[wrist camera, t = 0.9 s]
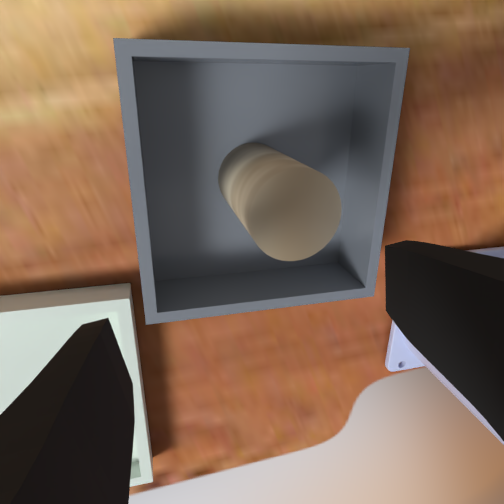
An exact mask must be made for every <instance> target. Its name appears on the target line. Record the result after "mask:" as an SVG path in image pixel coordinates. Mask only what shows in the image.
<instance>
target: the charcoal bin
mask: <svg viewBox="0 0 504 504" xmlns="http://www.w3.org/2000/svg"><path fill="white" fill-rule="evenodd" d="M113 41H114V50H115V58H116V67H117V76H118V85H119V93H120V102H121V111H122V120H123V128H124V137H125V146H126V155H127V163H128V172H129V181H130V190H131V198H132V207H133V216H134V225H135V233H136V242H137V251H138V260H139V268H140V277H141V286H142V295H143V303H144V312H145V321H146V325H148V324H156V323H164V322H172V321H180V320H188V319H196V318H204V317H212V316H220V315H228V314H236V313H244V312H251V311H259V310H267V309H275V308H283V307H291V306H299V305H307V304H315V303H323V302H331V301H339V300H347V299H355V298H363V297H371V296H374V291H375V285H376V278H377V271H378V264H379V257H380V250H381V243H382V236H383V229H384V223H385V216H386V209H387V202H388V195H389V188H390V181H391V174H392V168H393V161H394V154H395V147H396V140H397V133H398V126H399V119H400V112H401V106H402V99H403V92H404V85H405V78H406V71H407V64H408V57H409V51H410V48H393V47H363V46H333V45H303V44H273V43H243V42H213V41H183V40H153V39H123V38H113ZM246 143H261V144H264V145H267V146H269V147H271V148H273V149H275V150H277V151H279V152H281V153H283V154H285V155H287V156H289V157H291V158H293V159H295V160H297V161H299V162H300V163H302V164H304V165H306V166H308V167H310V168H312V169H314V170H316V171H318V172H320V173H322V174H324V175H325V176H327V177H328V178H329V179H330V180H331V181H332V182H333V184H334V185H335V187H336V188H337V190H338V193H339V195H340V199H341V207H342V208H341V218H340V222H339V226H338V228H337V230H336V232H335V234H334V236H333V237H332V239H331V240H330V241H329V243H328V244H327V245H326V246H325V247H324V248H323V249H321V250H320V251H319V252H317V253H316V254H314V255H312V256H310V257H308V258H305V259H302V260H297V261H282V260H278V259H275V258H272V257H271V256H269V255H267V254H266V253H264V252H263V251H262V250H261V249H260V248H259V247H258V245H257V244H256V243H255V241H254V240H253V238H252V237H251V235H250V234H249V233H248V231H247V230H246V228H245V227H244V225H243V224H242V223H241V221H240V220H239V218H238V217H237V215H236V214H235V213H234V211H233V210H232V208H231V207H230V205H229V204H228V203H227V201H226V200H225V198H224V197H223V195H222V193H221V191H220V188H219V183H218V174H219V169H220V166H221V164H222V162H223V160H224V158H225V157H226V156H227V155H228V153H229V152H231V151H232V150H233V149H234V148H236V147H238V146H240V145H242V144H246Z"/></svg>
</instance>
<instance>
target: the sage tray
mask: <svg viewBox="0 0 504 504" xmlns="http://www.w3.org/2000/svg"><path fill="white" fill-rule="evenodd" d="M105 318H109V321H110V323H111V326H112V329H113V331H114V334H115V337H116V339H117V342H118V345H119V348H120V350H121V353H122V356H123V358H124V361H125V364H126V366H127V369H128V372H129V375H130V377H131V380H132V383H133V395H134V415H135V426H134V440H133V453H132V464H131V476H130V487H131V486H136V485H140V484H145V483H150V482H153V458H152V450H151V442H150V434H149V426H148V418H147V410H146V402H145V394H144V386H143V378H142V370H141V362H140V355H139V347H138V339H137V331H136V323H135V315H134V307H133V299H132V291H131V283H122V284H112V285H102V286H93V287H83V288H73V289H63V290H53V291H43V292H33V293H23V294H14V295H4V296H0V415H1V414H2V412H3V411H4V410H5V409H6V408H7V407H8V406H9V405H10V404H11V403H12V402H13V401H14V400H15V399H16V398H17V397H18V396H19V395H20V393H21V392H22V391H23V390H24V389H25V388H26V387H27V386H28V385H29V384H30V383H31V382H32V381H33V380H34V378H35V377H36V376H37V375H38V374H39V373H40V372H41V370H42V369H43V368H44V367H45V366H46V365H47V363H48V362H49V361H50V360H51V359H52V358H53V357H54V355H55V354H56V353H57V352H58V351H59V350H60V348H61V347H62V346H63V345H64V344H65V343H66V341H67V340H68V339H69V338H70V337H71V336H72V334H73V333H74V332H75V331H76V330H77V329H78V328H79V327H80V326H81V325H82V324H86V323H90V322H93V321H97V320H101V319H105Z"/></svg>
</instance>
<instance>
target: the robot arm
mask: <svg viewBox="0 0 504 504" xmlns="http://www.w3.org/2000/svg"><path fill="white" fill-rule="evenodd" d="M385 275H386V311H387V313H388V314H389V316H390V317H391V318H392V326H391V332H390V338H389V343H388V349H387V355H386V361H385V366H386V368H387V369H388V370H389V371H399V370H405V369H410V368H416V367H422V366H426V367H427V368H428V369H429V370H430V371H431V372H432V373H433V374H434V375H435V376H436V377H437V378H438V379H439V380H440V381H441V382H442V383H443V384H444V385H445V386H446V387H447V388H448V389H449V390H450V391H451V392H452V393H453V394H454V395H455V396H456V397H457V398H458V399H459V400H460V401H461V402H462V403H463V404H464V405H465V406H466V407H467V408H468V409H469V410H470V411H471V412H472V413H473V414H474V415H475V416H476V417H477V418H478V419H479V420H480V421H481V422H482V423H483V424H484V425H485V426H486V427H487V428H488V429H489V430H490V431H491V432H492V433H493V434H494V436H495V437H497V439H498V440H499V441H500V442H501V443H503V444H504V247H495V248H486V249H476V250H466V251H465V250H460V249H455V248H451V247H446V246H441V245H436V244H430V243H424V242H418V241H407V240H406V241H402V242H398V243H394V244H390V245H386V246H385ZM134 426H135V415H134V395H133V383H132V380H131V377H130V375H129V372H128V369H127V366H126V364H125V361H124V358H123V356H122V353H121V350H120V348H119V345H118V342H117V339H116V337H115V334H114V331H113V329H112V326H111V323H110V321H109V318H105V319H101V320H97V321H93V322H90V323H86V324H82V325H81V326H80V327H79V328H78V329H77V330H76V331H75V332H74V333H73V334H72V336H71V337H70V338H69V339H68V340H67V341H66V343H65V344H64V345H63V346H62V347H61V348H60V350H59V351H58V352H57V353H56V354H55V355H54V357H53V358H52V359H51V360H50V361H49V362H48V363H47V365H46V366H45V367H44V368H43V369H42V370H41V372H40V373H39V374H38V375H37V376H36V377H35V378H34V380H33V381H32V382H31V383H30V384H29V385H28V386H27V387H26V388H25V389H24V390H23V391H22V392H21V393H20V395H19V396H18V397H17V398H16V399H15V400H14V401H13V402H12V403H11V404H10V405H9V406H8V407H7V408H6V409H5V410H4V411H3V412H2V414H1V415H0V504H128V500H129V488H130V476H131V464H132V453H133V440H134Z"/></svg>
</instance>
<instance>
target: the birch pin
mask: <svg viewBox="0 0 504 504" xmlns="http://www.w3.org/2000/svg"><path fill="white" fill-rule="evenodd" d="M218 183H219V188H220V191H221V193H222V195H223V197H224V198H225V200H226V201H227V203H228V204H229V205H230V207H231V208H232V210H233V211H234V213H235V214H236V215H237V217H238V218H239V220H240V221H241V223H242V224H243V225H244V227H245V228H246V230H247V231H248V233H249V234H250V235H251V237H252V238H253V240H254V241H255V243H256V244H257V245H258V247H259V248H260V249H261V250H262V251H263V252H264V253H266V254H267V255H269V256H271V257H272V258H275V259H278V260H282V261H297V260H302V259H305V258H308V257H310V256H312V255H314V254H316V253H317V252H319V251H320V250H321V249H323V248H324V247H325V246H326V245H327V244H328V243H329V241H330V240H331V239H332V237H333V236H334V234H335V232H336V230H337V228H338V226H339V222H340V218H341V208H342V207H341V199H340V195H339V193H338V190H337V188H336V187H335V185H334V184H333V182H332V181H331V180H330V179H329V178H328V177H327V176H325V175H324V174H322V173H320V172H318V171H316V170H314V169H312V168H310V167H308V166H306V165H304V164H302V163H300V162H299V161H297V160H295V159H293V158H291V157H289V156H287V155H285V154H283V153H281V152H279V151H277V150H275V149H273V148H271V147H269V146H267V145H264V144H261V143H246V144H242V145H240V146H238V147H236V148H234V149H233V150H232V151H231V152H229V153H228V155H227V156H226V157H225V158H224V160H223V162H222V164H221V166H220V169H219V174H218Z"/></svg>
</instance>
